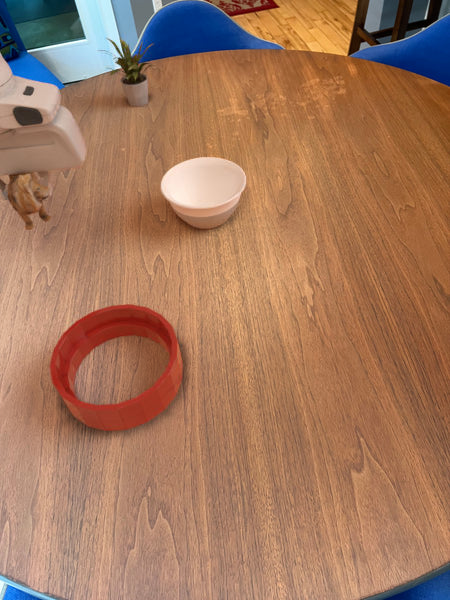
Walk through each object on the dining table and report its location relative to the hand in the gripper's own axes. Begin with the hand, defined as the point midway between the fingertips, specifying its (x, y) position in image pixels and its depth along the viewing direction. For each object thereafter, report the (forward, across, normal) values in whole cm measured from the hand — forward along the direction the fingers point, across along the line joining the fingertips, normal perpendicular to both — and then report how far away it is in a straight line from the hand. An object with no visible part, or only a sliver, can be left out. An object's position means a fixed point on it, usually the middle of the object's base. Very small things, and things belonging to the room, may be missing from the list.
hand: (28, 195), depth 70 cm
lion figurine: (+3, +1, -1) cm, 3 cm away
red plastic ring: (+20, +11, -20) cm, 30 cm away
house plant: (+20, +6, +67) cm, 70 cm away
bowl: (+20, +25, +16) cm, 36 cm away
